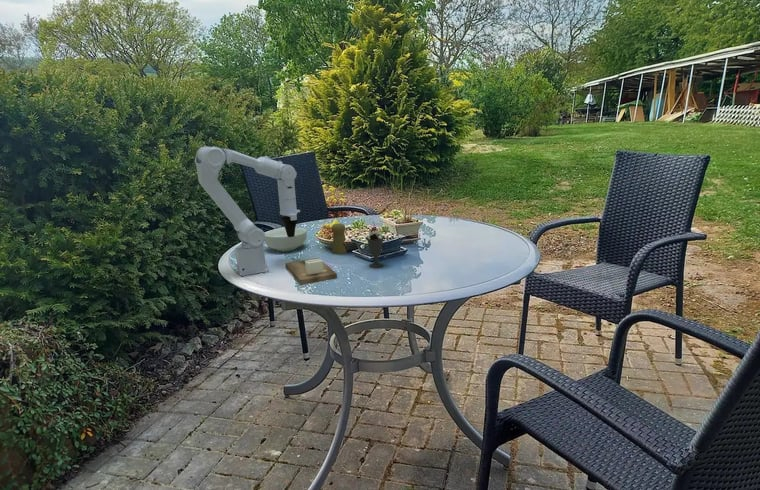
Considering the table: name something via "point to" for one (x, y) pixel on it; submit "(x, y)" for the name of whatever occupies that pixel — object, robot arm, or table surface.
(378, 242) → the sundae
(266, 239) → the cereal bowl
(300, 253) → the table surface
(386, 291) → the table surface
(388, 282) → the table surface
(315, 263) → the cream block
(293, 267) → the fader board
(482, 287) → the table surface
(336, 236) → the olive brown pepper mill
